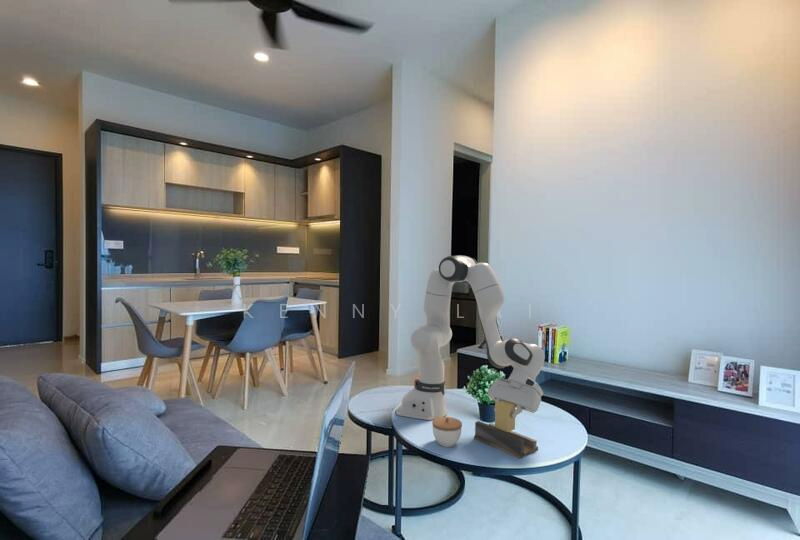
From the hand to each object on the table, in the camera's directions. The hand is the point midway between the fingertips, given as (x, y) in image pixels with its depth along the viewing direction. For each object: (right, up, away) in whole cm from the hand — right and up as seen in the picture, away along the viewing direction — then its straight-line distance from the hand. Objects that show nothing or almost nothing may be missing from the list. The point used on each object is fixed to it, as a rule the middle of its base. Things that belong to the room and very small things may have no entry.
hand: (504, 414), depth 147 cm
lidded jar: (-21, -11, +1) cm, 24 cm away
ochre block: (0, -5, 0) cm, 5 cm away
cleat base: (+1, -11, +1) cm, 11 cm away
